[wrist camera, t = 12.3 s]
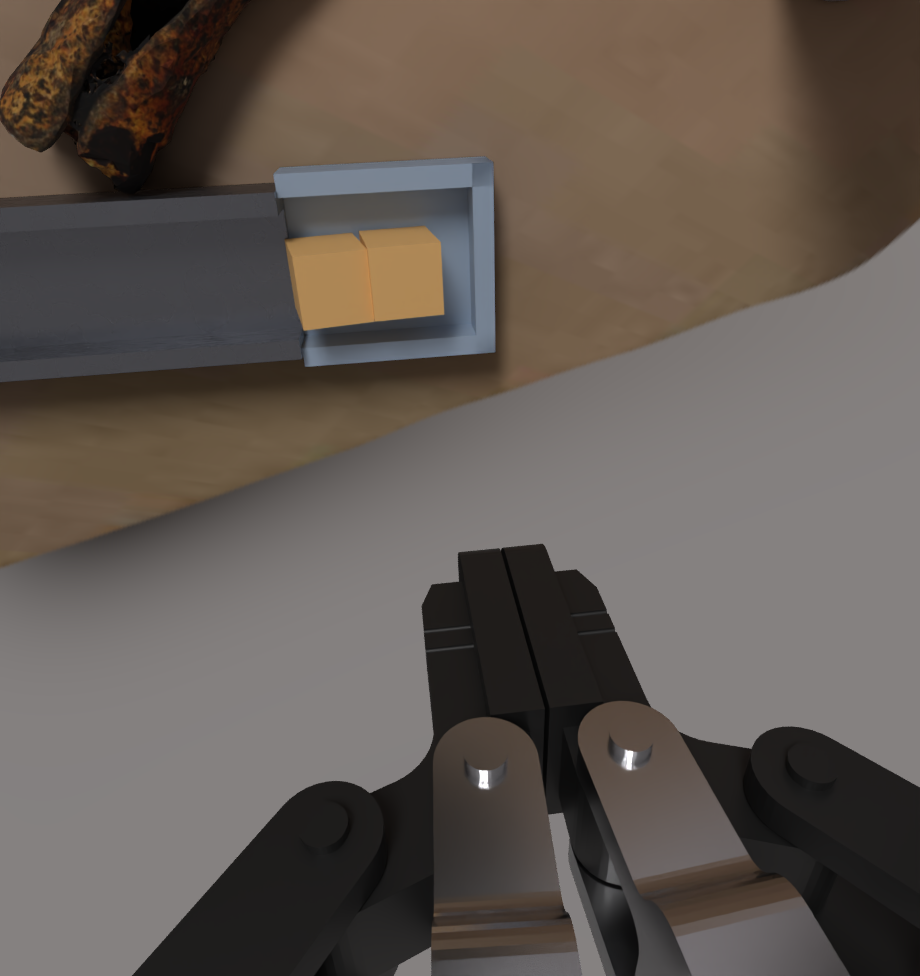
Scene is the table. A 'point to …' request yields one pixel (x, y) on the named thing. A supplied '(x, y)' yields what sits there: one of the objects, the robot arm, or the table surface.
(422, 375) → the table surface
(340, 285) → the tan cardboard cube
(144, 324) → the rail
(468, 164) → the tray
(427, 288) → the cardboard box
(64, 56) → the dark wooden branch
